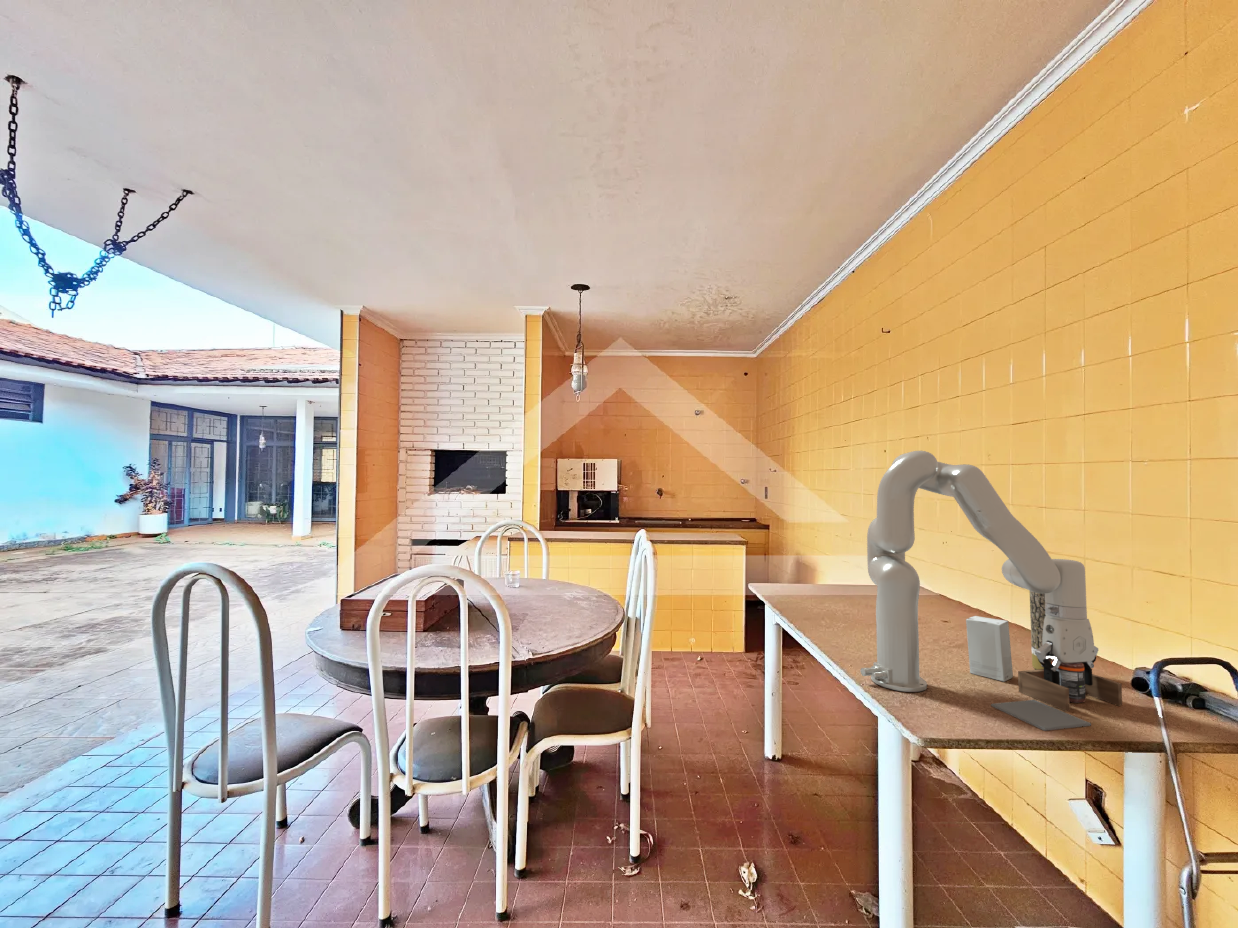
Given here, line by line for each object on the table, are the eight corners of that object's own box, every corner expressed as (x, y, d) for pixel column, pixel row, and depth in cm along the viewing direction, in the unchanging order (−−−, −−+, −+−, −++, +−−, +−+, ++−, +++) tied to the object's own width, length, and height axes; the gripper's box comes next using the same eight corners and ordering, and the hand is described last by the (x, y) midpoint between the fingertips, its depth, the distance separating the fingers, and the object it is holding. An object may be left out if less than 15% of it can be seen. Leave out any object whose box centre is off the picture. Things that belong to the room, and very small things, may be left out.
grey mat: (1044, 730, 104) (1044, 728, 104) (991, 705, 116) (991, 703, 116) (1090, 725, 107) (1090, 723, 107) (1034, 701, 118) (1034, 699, 118)
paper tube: (1069, 676, 134) (1066, 581, 136) (1038, 673, 137) (1035, 580, 138) (1057, 667, 141) (1053, 577, 142) (1027, 664, 143) (1024, 575, 144)
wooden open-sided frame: (1066, 711, 113) (1065, 688, 114) (1018, 691, 124) (1017, 671, 124) (1122, 705, 116) (1121, 683, 117) (1071, 686, 127) (1070, 666, 128)
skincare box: (1013, 678, 133) (1011, 620, 134) (1003, 682, 130) (1001, 624, 131) (977, 668, 140) (975, 614, 141) (967, 672, 137) (965, 617, 138)
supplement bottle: (1055, 691, 125) (1053, 644, 125) (1087, 699, 120) (1085, 650, 121) (1050, 697, 121) (1048, 649, 121) (1083, 706, 116) (1081, 656, 117)
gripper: (1052, 617, 116) (1055, 693, 115) (1112, 613, 119) (1115, 688, 118) (1020, 609, 123) (1022, 681, 123) (1077, 606, 127) (1080, 676, 126)
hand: (1068, 684), depth 121 cm, fingers open, 9 cm apart
